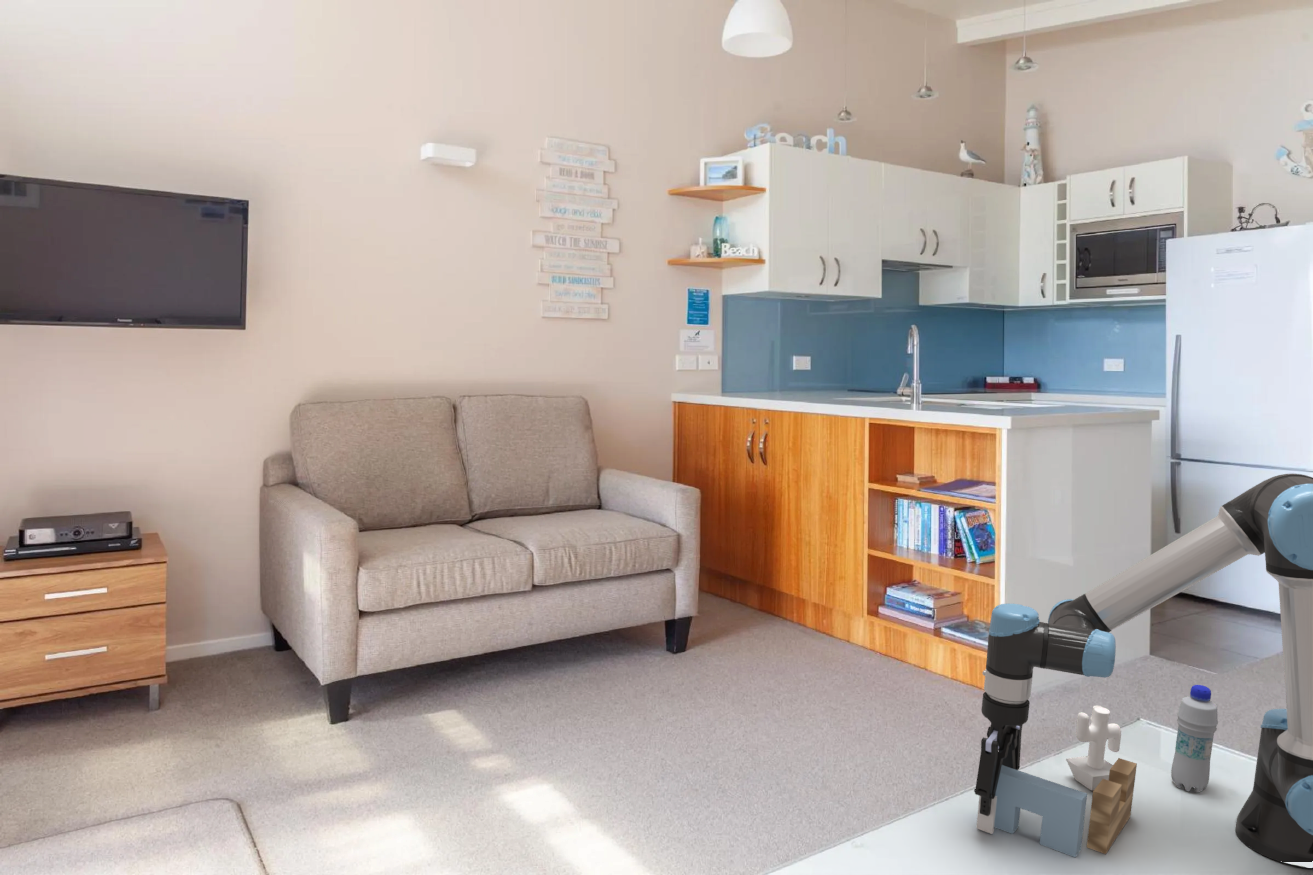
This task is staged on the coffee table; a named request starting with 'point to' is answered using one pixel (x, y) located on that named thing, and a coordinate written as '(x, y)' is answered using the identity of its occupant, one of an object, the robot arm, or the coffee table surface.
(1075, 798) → the blue bridge block
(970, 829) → the coffee table surface
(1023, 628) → the robot arm
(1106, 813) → the wooden block stack
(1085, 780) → the figurine
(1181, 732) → the bottle
